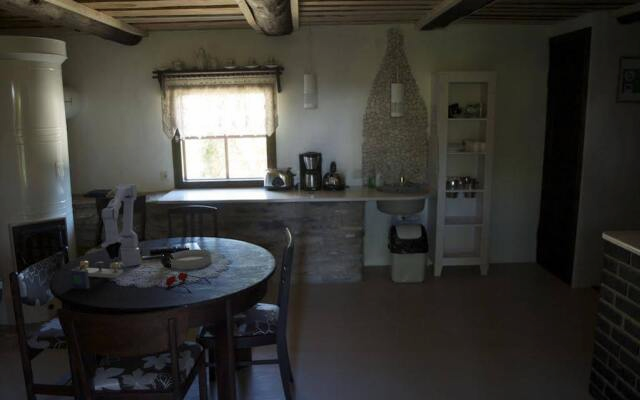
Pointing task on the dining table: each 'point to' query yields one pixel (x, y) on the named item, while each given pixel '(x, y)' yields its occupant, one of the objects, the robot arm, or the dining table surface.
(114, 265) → the brass knob
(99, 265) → the graphite knob
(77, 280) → the flask
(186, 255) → the dish
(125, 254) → the robot arm
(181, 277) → the glasses
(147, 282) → the dining table surface
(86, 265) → the brass knob
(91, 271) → the mount board
